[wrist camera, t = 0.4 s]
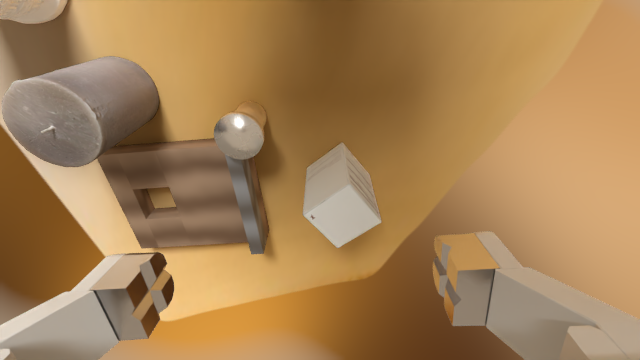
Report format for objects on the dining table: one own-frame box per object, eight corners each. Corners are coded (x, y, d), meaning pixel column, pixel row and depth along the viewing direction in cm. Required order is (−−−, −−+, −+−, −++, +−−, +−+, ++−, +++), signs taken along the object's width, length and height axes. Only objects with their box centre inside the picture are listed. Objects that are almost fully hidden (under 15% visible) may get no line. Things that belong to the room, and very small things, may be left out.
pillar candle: (125, 135, 48) (53, 188, 35) (71, 77, 43) (-35, 113, 30) (174, 104, 45) (116, 148, 32) (122, 39, 41) (30, 60, 28)
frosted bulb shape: (226, 97, 45) (208, 116, 38) (268, 93, 44) (258, 112, 37) (235, 136, 48) (220, 161, 41) (275, 133, 47) (266, 157, 40)
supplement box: (334, 197, 53) (336, 250, 42) (305, 166, 50) (300, 215, 39) (371, 173, 50) (383, 223, 40) (343, 140, 48) (348, 183, 37)
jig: (107, 146, 49) (81, 165, 43) (248, 135, 47) (239, 153, 42) (149, 236, 58) (132, 260, 53) (269, 229, 56) (263, 253, 51)
